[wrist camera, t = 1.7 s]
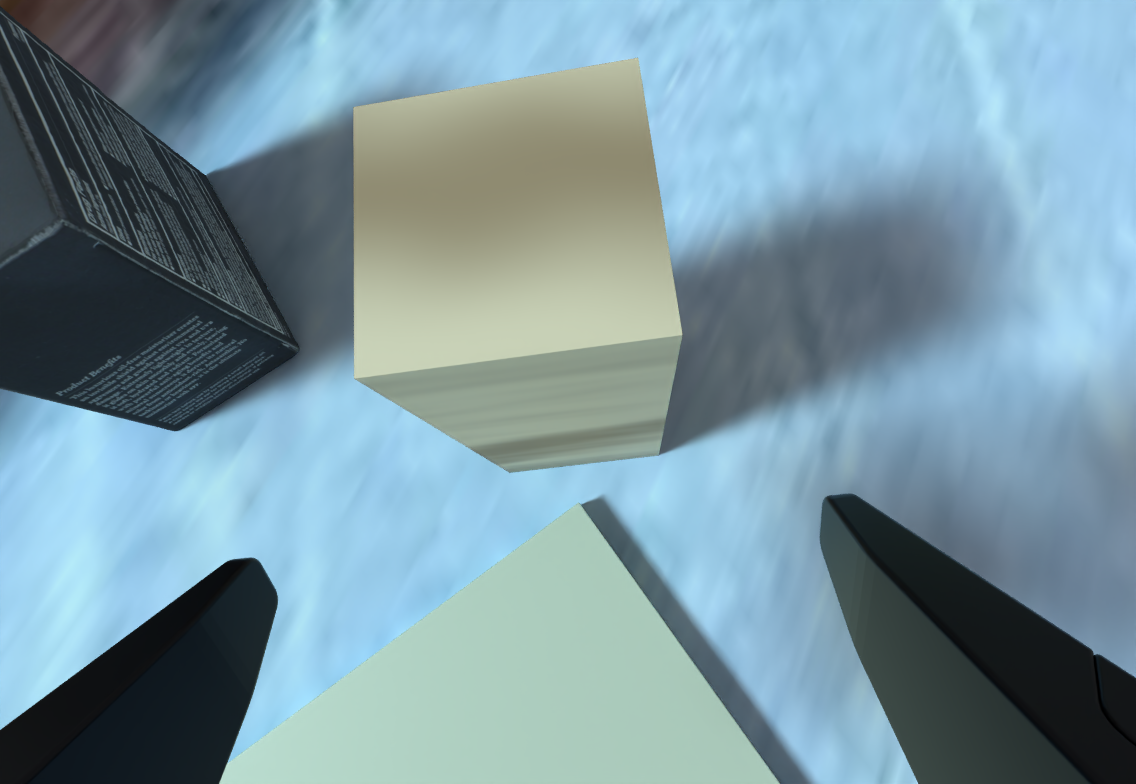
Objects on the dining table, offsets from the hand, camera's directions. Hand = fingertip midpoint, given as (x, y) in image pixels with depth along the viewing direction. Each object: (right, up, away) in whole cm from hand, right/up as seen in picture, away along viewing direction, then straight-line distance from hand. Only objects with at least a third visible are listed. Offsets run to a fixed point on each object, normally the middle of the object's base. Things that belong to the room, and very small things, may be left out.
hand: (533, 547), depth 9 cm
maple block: (+1, +2, +13) cm, 13 cm away
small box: (-16, +6, +16) cm, 24 cm away
